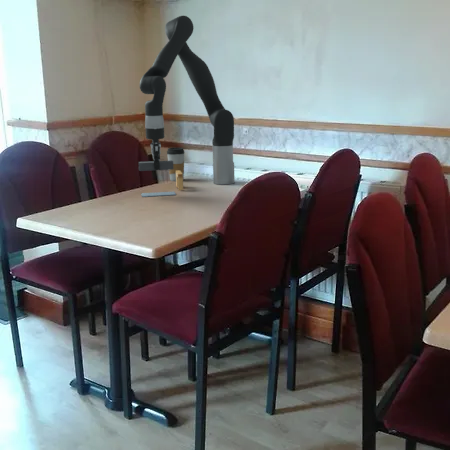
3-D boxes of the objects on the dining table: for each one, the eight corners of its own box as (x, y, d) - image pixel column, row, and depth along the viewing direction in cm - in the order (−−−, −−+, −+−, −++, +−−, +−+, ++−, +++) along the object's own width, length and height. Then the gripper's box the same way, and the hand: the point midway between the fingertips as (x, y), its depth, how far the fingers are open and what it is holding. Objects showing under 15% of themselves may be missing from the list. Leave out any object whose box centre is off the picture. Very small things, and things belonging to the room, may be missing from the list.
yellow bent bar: (180, 185, 256) (180, 170, 255) (183, 190, 247) (182, 174, 245) (176, 186, 256) (175, 170, 254) (178, 190, 246) (177, 174, 245)
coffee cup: (166, 179, 275) (164, 148, 271) (183, 178, 277) (182, 147, 273) (170, 182, 267) (168, 150, 263) (187, 180, 269) (186, 149, 266)
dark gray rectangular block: (172, 168, 240) (172, 160, 239) (173, 169, 236) (173, 161, 235) (139, 169, 237) (138, 161, 237) (139, 171, 234) (138, 163, 233)
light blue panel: (174, 192, 243) (174, 191, 243) (175, 195, 238) (175, 194, 237) (141, 194, 241) (141, 193, 241) (141, 197, 235) (141, 196, 235)
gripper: (144, 125, 238) (146, 166, 243) (146, 128, 225) (148, 172, 229) (162, 125, 240) (164, 165, 244) (165, 128, 226) (167, 171, 231)
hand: (156, 168), depth 237 cm, fingers closed on dark gray rectangular block, 3 cm apart
